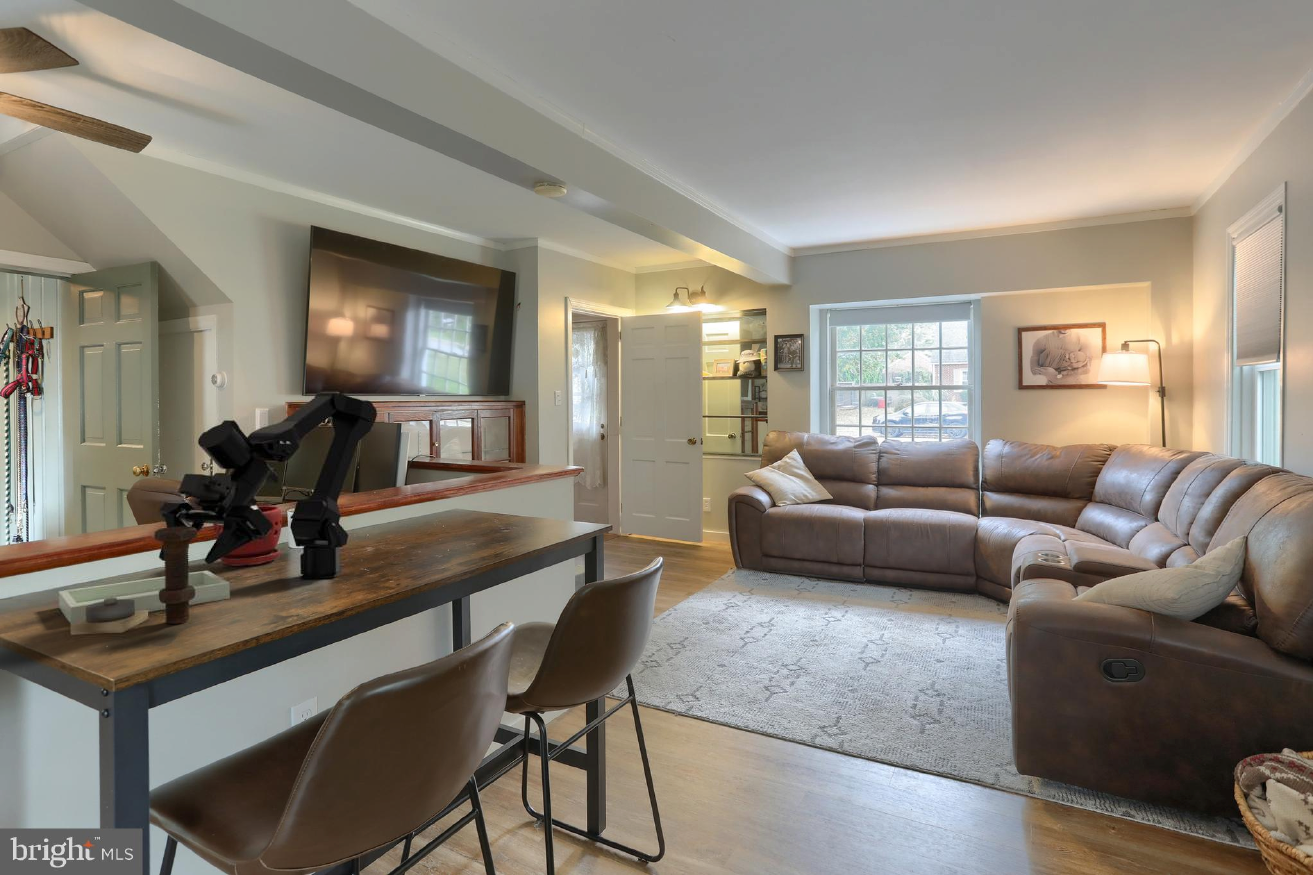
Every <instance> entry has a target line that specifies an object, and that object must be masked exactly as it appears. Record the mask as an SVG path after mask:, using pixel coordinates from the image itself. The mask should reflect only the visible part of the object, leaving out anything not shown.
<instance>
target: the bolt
mask: <svg viewBox="0 0 1313 875" xmlns="http://www.w3.org/2000/svg"><path fill="white" fill-rule="evenodd" d="M195 538H198V531H197V530H196V528H195V527H170V528H167V527H163V528H159V529H157V530H155V531H154V540H155V541H158V542H159V543H161V542H162V545H163V550H164V553H165V554H164V555H165V556H164V557H165V558H164V559H165V560H164V562H163V563H164V567H163V568H164V577H165V576H166V577H165V578H166V579H165V580H166V581H165V588H164V589H162V590H160V591H159V600H160V602H161V603H165V605H166V609H164V610H165V612H164V613H165V623H166V624H171V625H176V624H184V623H186V622H187V621H189V619H190V605H189V600H192V599H193V598H194V597H195V589H194V587H193V586H190V585H189V584H188V583H189V582H188V581H189V580H188V579H189V578H188V577H189V573H190V572H189V570H190V567H189V565H190V564H189V562H190V560H189V558H190V557H189V548H190V542H189V539H192V540H193V539H195Z"/></svg>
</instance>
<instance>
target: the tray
mask: <svg viewBox="0 0 1313 875" xmlns="http://www.w3.org/2000/svg"><path fill="white" fill-rule="evenodd" d="M165 577H166V576H165V575H164V576H160V577H153V578H144V579H138V580H130V581H123V582H118V583H117V582H116V583H110V584H108V583H107V584H102V585H96V586H95V585H94V586H87V587H82V588H75V589H74V588H73V589H65V590H58V608H59V609H61V610H60V611H61V613H62V614H63V616H64V617H65V619H66V620H67V621H68V623H69V622H70V623H69V624H70V626H71V625H72V624H74V623H76V622H78V621H80V620H83V619H85V618H86V607H87V606H88V605H91V604H94V603H98V602H103V601H104V600H105V599H109V598H117V600H118V599H130V600H134V601H135V610H148V613H151V612H157V611H162V610H165V609H166V605H165V603H161V602H160V600H159V591H160V590H162V589H164V588H165V581H166V580H165V579H166V578H165ZM188 578H189V579H188V580H189V581H188V582H189V583H188V584H189V585H190V586H193V587H194V589H195V597H194V598H193V599H192V600H189V606H193V605H197V604H204V603H210V602H217V601H222V600H226V599H227V600H229V599H231V596H230V592H231V590H230V584H231V583H230V582H229V581H227V580H225V579H223V578H222V577H220V576H218V575H216V574H214V573H212V572H211V571H210V570H202V571H195V572H194V571H193V572H189V577H188Z"/></svg>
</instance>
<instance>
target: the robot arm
mask: <svg viewBox="0 0 1313 875" xmlns="http://www.w3.org/2000/svg"><path fill="white" fill-rule="evenodd" d="M377 417H378V411H377V408H376V407H375V406H374V404H373V403H372V401H370V400H367V399H365V400H363V399H359V398H357V397H356V398H355V397H352V396H348V395H346V394H344V393H342V392H339V391H320V392H318V393H316V394H315V396H314V397H313V398H312V399H310V400H309V401H308V402H306V403H305V404H303V406H301V407H300V408H299V409H297V410H296V411H294V412H293V413H291V414H290V415H289V416H287V417H286V418H285V419H283V420H282V421H280V422H278V423H274V424H271V425H266V426H263V427H261V428H259V429H257V430H254V431H252V432H251V433H249V435H248V436H246V434H245V433H244V431H243V430H242V428H240V426H239V424H238V423H237V421H235V420H231V419H230V420H229V419H228V420H227V419H225V420H223V421H222V423H221V424H217V425H215V426H213V427H211V428H209V429H207V431H203V432H202V434H201V435H200V436H199V437H198V439H197V444H198V446H199V447H200V448H201V449H202V450H203V451H204V453H205V454H207V456H208V457H209V458H210V459H211V460H212V461H213V462H214V463H215V465H216V466H217V467H219V468H220V469H222V470H228V469H230V470H229V471H228V473H227V472H226V473H225V472H216V473H214V474H213V475H206V474H203V473H201V474H200V473H197V474H196V473H185V474H184V475H183V477H182V480H181V483H180V485H179V487H178V490H177V493H179V494H181V495H187V496H189V497H191V498H194V499H195V500H194V501H193V502H194V504H195V505H196V506H197V507H200V508H201V510H200V509H199V510H198V509H195V508H194V506H192V504H190V503H189V502H187V501H168V502H167V501H166V502H164V503H163V505H162V506H161V507H160V508H159V509H158V512H157V513H158V514H159V516H161V519H162V520H163V521H164V522H165V524H166V528H170V527H195V528H196V530H197V532H199V531H201V529H202V528H203V527H204V526H205V524H211V525H212V524H217V525H223V531H222V532H221V534H220V536H219V537H218V539H217V540H216V539H215V542H214V543H213V545H212V546H211V548H210V550H209V551H208V552H207V554H206V556H205V558H204V563H206V564H207V565H212V564H213V563H215V562H216V561H219V560H220V558H222V557H224V556H225V555H227V554H229V553H230V552H232V551H234V550H236V549H238V548H240V547H242V546H244V545H246V544H248V543H249V542H251V541H256V540H257V539H258V537H263V538H265V537H266V536H267V534H268V533H269V531H270V530H271V521H270V520H269V519H268V517H267V516H266V515H265V514H264V513H263V512H262V511H261V510H260V509H259V508H258V507H257V506H258V505H256V504H257V503H258V501H257V499H256V498H255V497H256V496H257V493H258V492H259V491H260V490H261V488H262V487H263V486H264V485H265V483H266V484H277V483H278V482H279V476H278V474H277V469H276V468H275V467H271V466H270V465H269V464H268V463H285V462H288V461H289V460H290V459H291V458H292V457H293V456H294V455H295V453H296V452H297V451H299V449H300V447H301V441H302V440H303V438H305V437H306V436H307V435H309V434H310V433H311V432H312V431H314V430H315V429H316V428H318V427H319V426H320V425H321V424H323V423H324V422H325V421H326V420H328V419H329V418H331V426H332V429H333V432H334V435H333V438H332V441H331V443H330V445H329V448H328V451H327V454H326V457H325V458H324V462H323V465H322V467H321V470H320V472H319V475H318V477H317V480H316V483H315V485H314V488H313V492H312V493H311V495H310V496H309V497H308V498H307V499H298V500H297V502H296V503H295V507H294V511H293V513H292V515H290V520H291V521H290V530H291V534H292V537H293V540H294V543H295V546H296V547H298V548H299V547H303V548H302V553H300V556H299V558H300V559H299V560H300V562H299V563H300V564H299V565H300V575H301V576H300V580H305V579H307V580H309V579H310V580H311V579H333V578H336V577H337V576H339V575H340V574H341V573H342V572H343V568H341V557H340V556H341V549H340V548H343V547H344V546H346V545H347V544H348V539H349V534H348V533H347V531H346V530H345V529H344V527H343V526H342V525H341V524H340V520H341V512H340V508H339V504H338V500H339V498H340V494H341V493H342V488H343V486H344V484H345V481H346V478H347V476H348V475H347V474H348V471H349V470H350V466H351V463H352V460H353V458H354V455H355V453H356V450H357V446H358V443H359V442H360V441H361V439H363V438H364V437H366V435H368V434H369V433H370V432H371V430H372V427H374V424H375V422H376V419H377ZM192 540H193V539H189V543H190V541H192ZM164 554H165V553H164V550H163V544H162V545H161V548H160V552H159V554H158V558H159V560H161V562H162V561H164V560H165V559H164V558H165V557H164V556H165V555H164ZM164 562H165V561H164Z"/></svg>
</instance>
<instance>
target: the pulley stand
mask: <svg viewBox="0 0 1313 875" xmlns="http://www.w3.org/2000/svg"><path fill="white" fill-rule="evenodd" d="M147 620H149V612H148V610H135V601H134V600H130V599H118V600H117V598H109V599H105V600H104V601H103V602H98V603H94V604H91V605H88V606H87V607H86V618H85V619H83V620H80V621H78V622H76V623H74V624H72V625H71V624H70V635H73V636H75V635H93V634H95V635H97V634H99V635H100V634H118V633H120V634H121V633H125V632H126V631H128V630H131V629H132V628H134V627H136V626H138V625H140V624H141V623H143V622H145V621H147Z"/></svg>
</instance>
